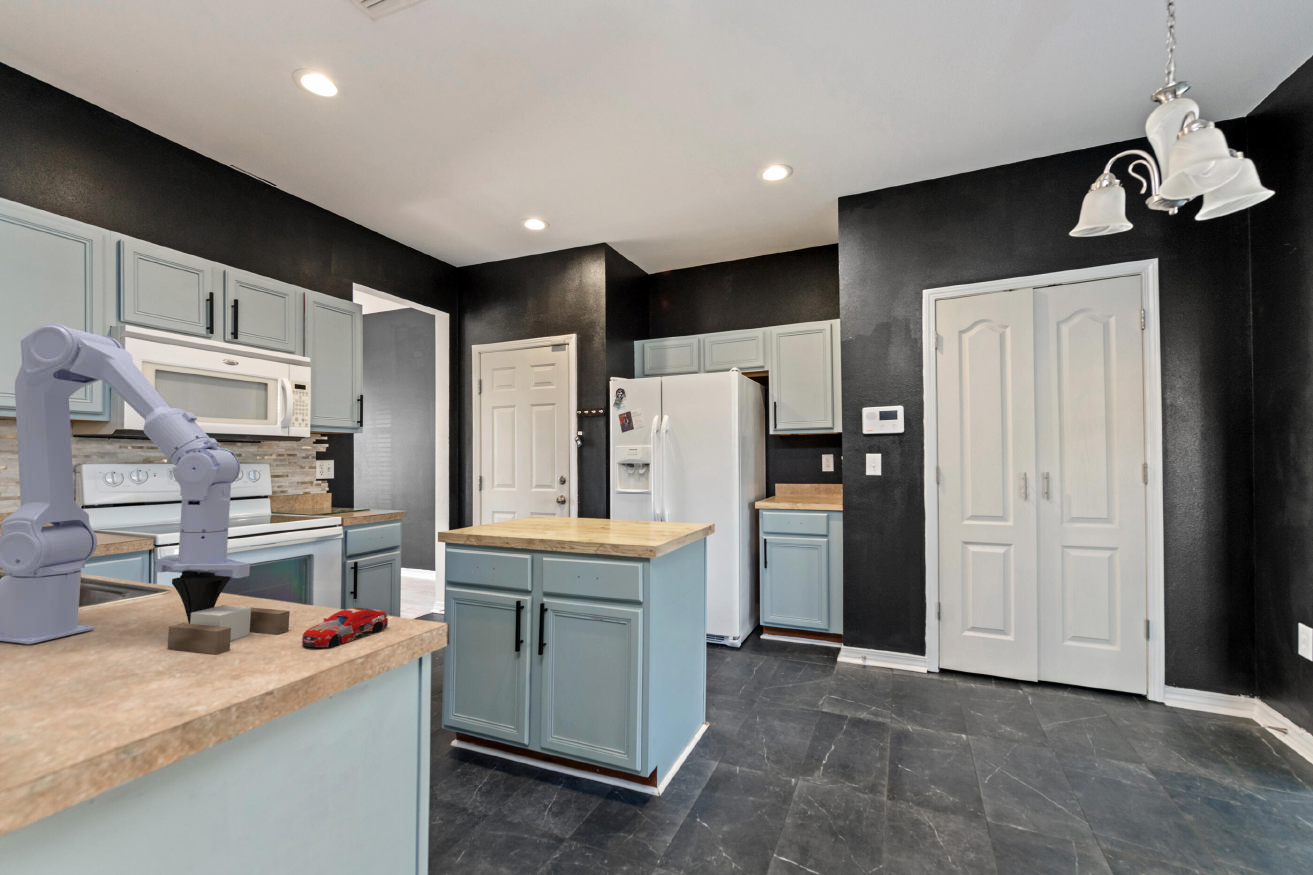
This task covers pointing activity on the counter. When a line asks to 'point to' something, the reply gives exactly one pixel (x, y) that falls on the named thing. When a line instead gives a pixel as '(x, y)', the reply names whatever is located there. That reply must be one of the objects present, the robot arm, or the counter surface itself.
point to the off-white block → (225, 619)
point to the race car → (345, 627)
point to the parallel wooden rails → (224, 632)
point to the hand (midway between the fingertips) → (199, 624)
